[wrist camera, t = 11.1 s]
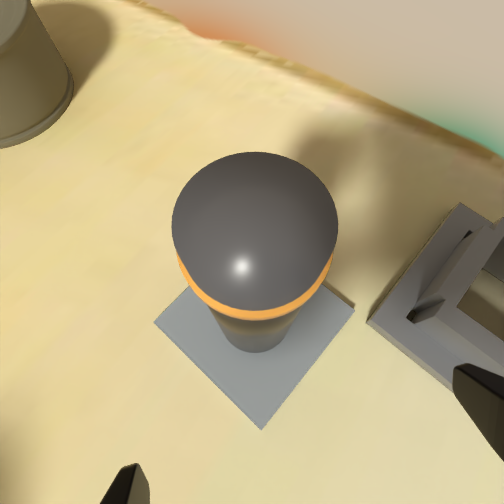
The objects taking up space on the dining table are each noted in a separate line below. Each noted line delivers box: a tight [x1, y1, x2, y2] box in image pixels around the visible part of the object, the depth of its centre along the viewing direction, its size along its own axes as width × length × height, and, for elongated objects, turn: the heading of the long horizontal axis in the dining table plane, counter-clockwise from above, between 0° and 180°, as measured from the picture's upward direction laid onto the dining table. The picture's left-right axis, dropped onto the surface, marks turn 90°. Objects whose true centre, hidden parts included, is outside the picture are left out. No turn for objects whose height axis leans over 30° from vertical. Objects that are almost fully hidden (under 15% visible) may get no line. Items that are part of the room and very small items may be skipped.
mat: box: [154, 284, 355, 430], centre depth 21 cm, size 9×9×1 cm
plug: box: [172, 152, 338, 353], centre depth 15 cm, size 5×5×13 cm
